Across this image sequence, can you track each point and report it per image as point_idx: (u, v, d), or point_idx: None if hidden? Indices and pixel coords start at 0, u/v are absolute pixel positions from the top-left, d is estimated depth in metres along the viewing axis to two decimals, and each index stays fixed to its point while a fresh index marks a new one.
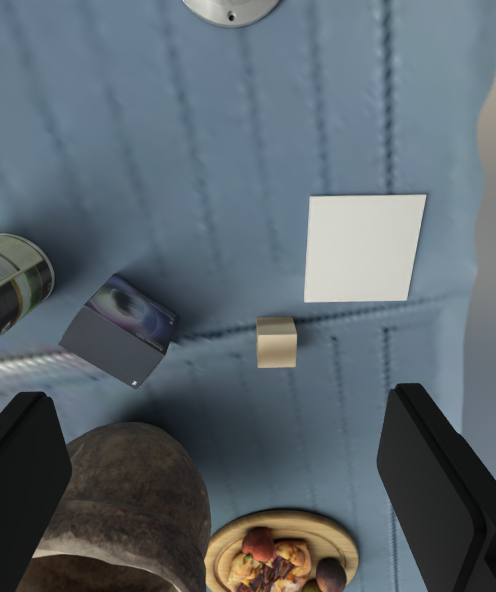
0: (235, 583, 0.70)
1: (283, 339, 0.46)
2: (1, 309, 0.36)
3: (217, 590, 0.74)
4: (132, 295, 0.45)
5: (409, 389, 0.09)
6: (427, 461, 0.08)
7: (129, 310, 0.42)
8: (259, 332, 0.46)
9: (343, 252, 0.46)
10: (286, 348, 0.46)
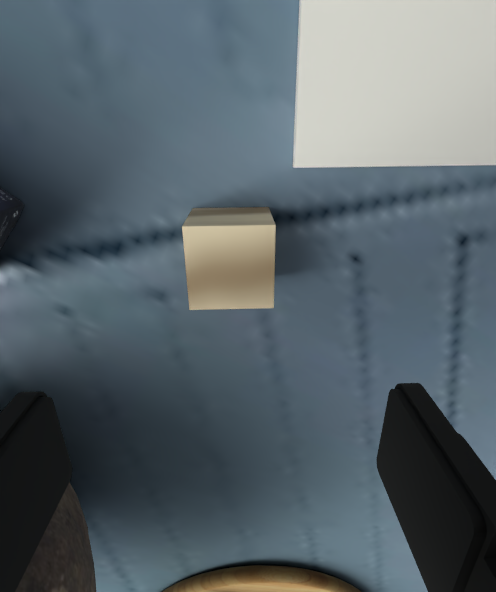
0: None
1: (243, 239, 0.19)
2: None
3: None
4: None
5: (409, 389, 0.09)
6: (427, 461, 0.08)
7: None
8: (187, 223, 0.20)
9: (386, 27, 0.19)
10: (252, 262, 0.20)
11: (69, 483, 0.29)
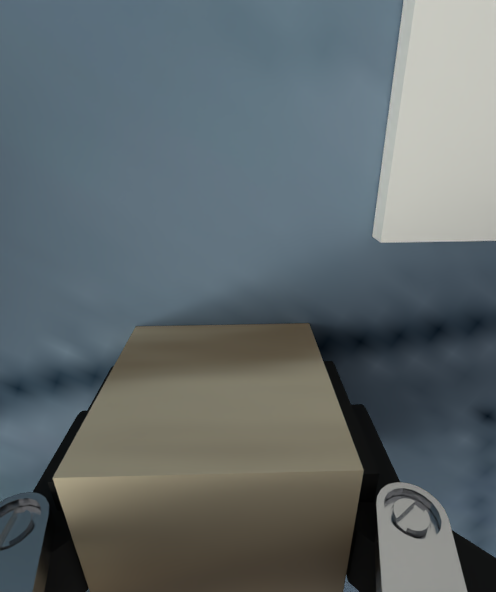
0: None
1: (256, 504, 0.06)
2: None
3: None
4: None
5: None
6: None
7: None
8: (83, 444, 0.06)
9: None
10: (282, 552, 0.07)
11: None
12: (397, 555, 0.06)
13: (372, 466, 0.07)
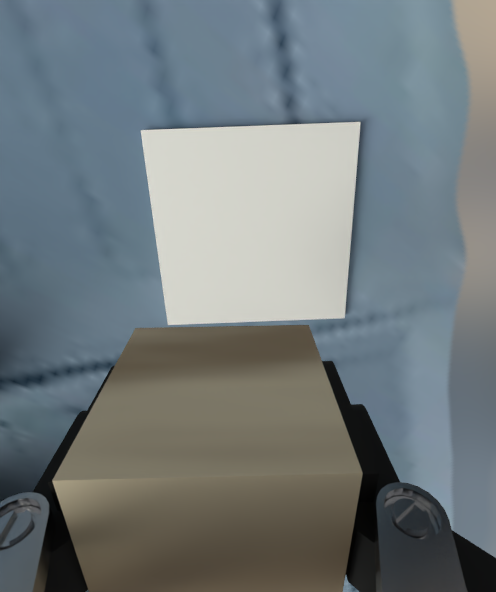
0: None
1: (255, 506, 0.06)
2: None
3: None
4: None
5: None
6: None
7: None
8: (83, 446, 0.06)
9: (220, 235, 0.25)
10: (281, 555, 0.07)
11: None
12: (397, 555, 0.06)
13: (372, 467, 0.07)
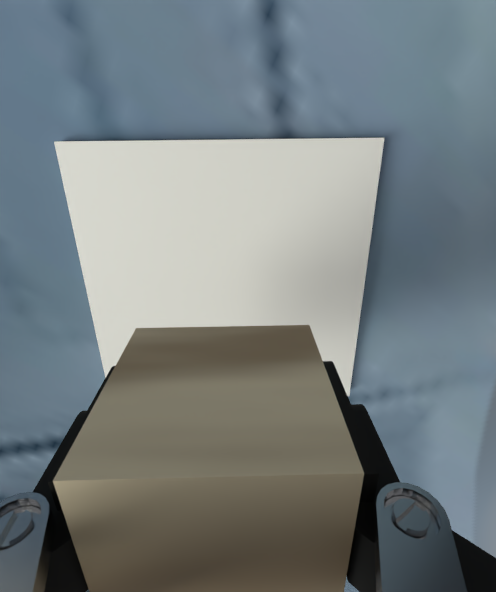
0: None
1: (256, 507, 0.06)
2: None
3: None
4: None
5: None
6: None
7: None
8: (83, 446, 0.06)
9: (179, 291, 0.18)
10: (282, 555, 0.07)
11: None
12: (397, 555, 0.06)
13: (372, 467, 0.07)
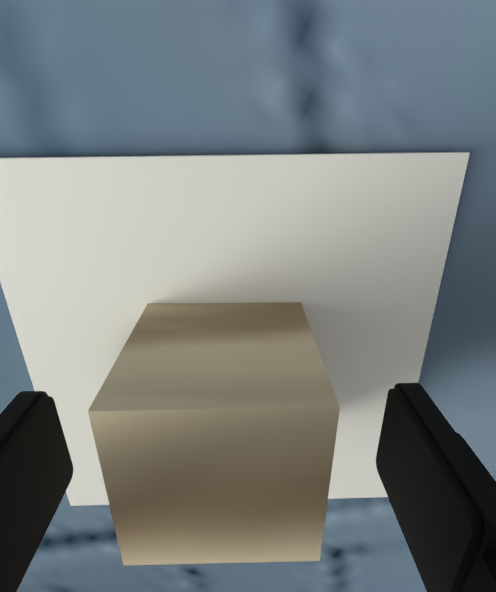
0: None
1: (252, 437, 0.07)
2: None
3: None
4: None
5: (408, 388, 0.09)
6: (425, 460, 0.08)
7: None
8: (110, 388, 0.08)
9: None
10: (273, 481, 0.08)
11: None
12: None
13: None
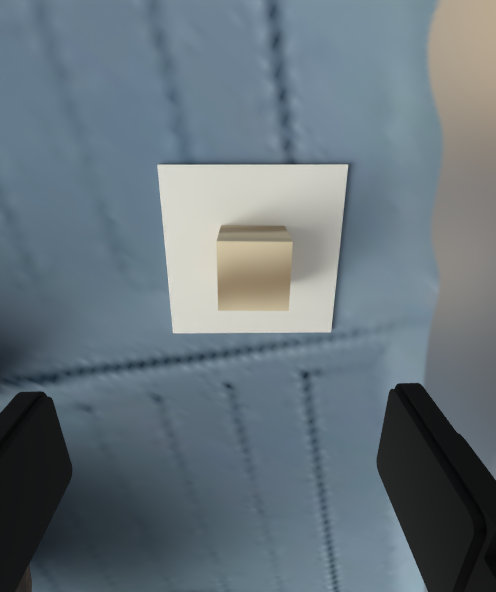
0: None
1: (266, 252, 0.24)
2: None
3: None
4: None
5: (409, 389, 0.09)
6: (427, 461, 0.08)
7: None
8: (220, 238, 0.24)
9: None
10: (272, 271, 0.24)
11: None
12: None
13: None
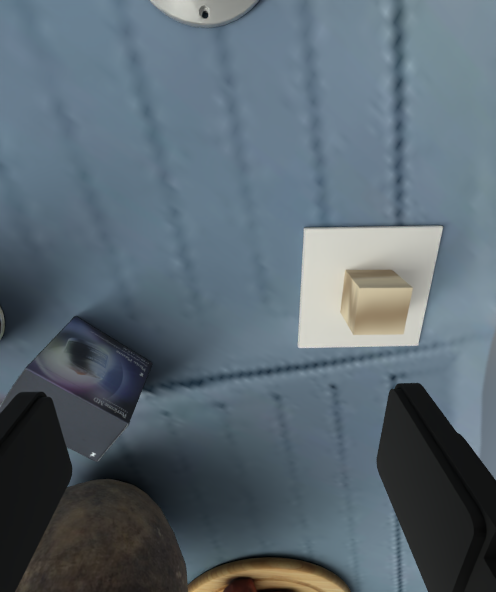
0: None
1: (393, 295, 0.34)
2: None
3: None
4: (94, 343, 0.38)
5: (409, 389, 0.09)
6: (427, 461, 0.08)
7: (87, 365, 0.35)
8: (359, 285, 0.34)
9: None
10: (395, 307, 0.34)
11: None
12: None
13: None
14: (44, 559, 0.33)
